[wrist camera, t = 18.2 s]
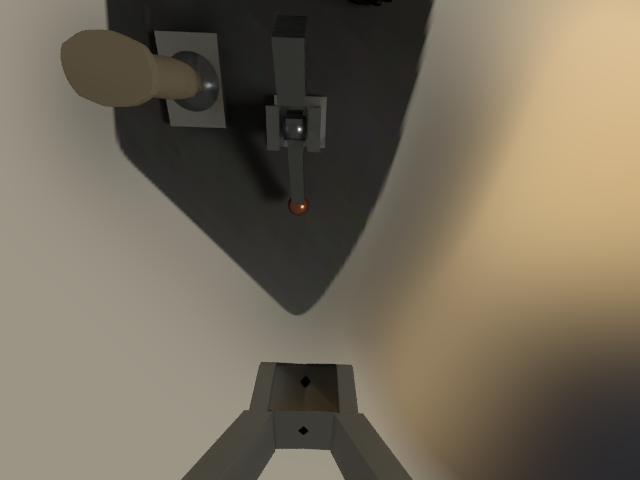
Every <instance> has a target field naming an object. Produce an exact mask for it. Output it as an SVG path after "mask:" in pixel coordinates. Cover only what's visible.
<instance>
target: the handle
mask: <svg viewBox="0 0 640 480" xmlns="http://www.w3.org/2000/svg"><path fill="white" fill-rule="evenodd" d="M61 62H62V66H63V70H64V73H65V75H66V77H67V80H68V81H69V83H70V85H71V86H72V88H73V89H74V90H75V91H76V93H78V95H79V96H81V97H84V98H86V99H88V100H90V101H92V102H95V103H97V104H100V105H103V106H109V107H123V106H138V105H140V104H142V103H145V102H146V101H148V100H150V99H151V98H153V97H154V98H162V99H170V100H174V99H185V98H190V97H194V96H195V95H196V93H197V92H198V91H200V90H203V85H202V82H201V77H202V76H201V74H200V73H199V72H198V71H195V70H194V69H193V68H192V67H190V66H189V65H188V64H186V63H184V62H182V61H180V60H177V59H175V58H171V57H168V56H163V55H155V54H152V53H151V52H150V50H149V49H148V48H147V47H146V46H145V45H143V44H141V43H140V42H138V41H136V40H134V39H132V38H129V37H127V36H125V35H122V34H120V33H117V32H114V31H110V30H85V31H81V32H79V33H77V34H75V35H74V36H72V37H71V38H69V39H68V40H67V41H65V42H64V43H63V44H62V47H61Z"/></svg>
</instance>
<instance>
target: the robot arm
mask: <svg viewBox="0 0 640 480" xmlns="http://www.w3.org/2000/svg"><path fill="white" fill-rule="evenodd" d="M298 448H299V449H302V448H304V449H320V450H331V453H332V455H333V457H334V459H335V461H336V463H337V465H338V467H339V469H340V471H341V473H342V475H343V477H344V479H345V480H412V478H411V477H410V476H409V474H408V473H407V472H406V470H405V469H404V468H403V466H402V465H401V464H400V462H399V461H398V460H397V458H396V457H395V456H394V454H393V453H392V452H391V450H390V449H389V448H388V446H387V445H386V444H385V442H384V441H383V440H382V438H381V437H380V436H379V434H378V433H377V432H376V430H375V429H374V428H373V426H372V425H371V424H370V422H369V421H368V420H367V418H366V417H365V416H364V414H360V413H358V407H357V399H356V391H355V383H354V373H353V367H352V365H339V364H337V365H336V364H293V363H275V362H261V364H260V366H259V369H258V374H257V378H256V382H255V387H254V391H253V396H252V400H251V404H250V409H249V410H245V411H243V412H242V414H241V415H240V416H239V417H238V418H237V419H236V420H235V421H234V423H232V425H231V426H230V427H229V428H228V429H227V430H226V431H225V432H224V433H223V434H222V435H221V437H220V438H219V439H218V440H217V441H216V442H215V443H214V444H213V445H212V446H211V448H210V449H209V450H208V451H207V452H206V453H205V454H204V455H203V456H202V458H201V459H200V460H199V461H198V462H197V463H196V464H195V465H194V466H193V467H192V469H191V470H190V471H189V472H188V473H187V474H186V475H185V476H184V477H183V478H182V480H257V479H258V477H259V476H260V474H261V473H262V471H263V469H264V468H265V466H266V465H267V463H268V461H269V460H270V458H271V457H272V455H273V454H274V452H275V449H298Z"/></svg>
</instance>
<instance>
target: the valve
mask: <svg viewBox="0 0 640 480" xmlns="http://www.w3.org/2000/svg"><path fill="white" fill-rule="evenodd" d="M363 1H367V2H371V4H372V5H374V6H380V5H381V3H382V1H384V2H392V0H353V3H355V4H359V5H361V4H363Z"/></svg>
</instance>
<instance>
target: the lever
mask: <svg viewBox="0 0 640 480" xmlns="http://www.w3.org/2000/svg"><path fill="white" fill-rule="evenodd" d="M271 39H272V49H273V60H274V71H275V81H276V92H277V103H278V106H303V107H305V104H306V93H307V83H308V66H307V16H287V15H278V16H277V19H276V23H275V26H274V30H273V33H272V36H271ZM283 138H284V140H287V146H288V160H289V173H290V187H291V198H290V200H289V202H288V208H289V210H290V211H291V213H293V214H294V215H303V214H305V213H306V212H307V210H308V208H309V202H308V199H307V198H306V197H305V182H304V141H306V116H303V110H287V112H286V115H284V116H283Z"/></svg>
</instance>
